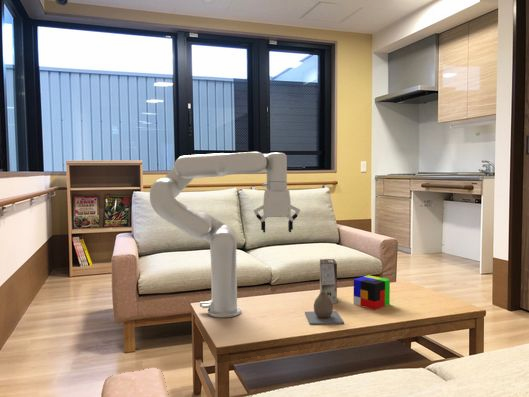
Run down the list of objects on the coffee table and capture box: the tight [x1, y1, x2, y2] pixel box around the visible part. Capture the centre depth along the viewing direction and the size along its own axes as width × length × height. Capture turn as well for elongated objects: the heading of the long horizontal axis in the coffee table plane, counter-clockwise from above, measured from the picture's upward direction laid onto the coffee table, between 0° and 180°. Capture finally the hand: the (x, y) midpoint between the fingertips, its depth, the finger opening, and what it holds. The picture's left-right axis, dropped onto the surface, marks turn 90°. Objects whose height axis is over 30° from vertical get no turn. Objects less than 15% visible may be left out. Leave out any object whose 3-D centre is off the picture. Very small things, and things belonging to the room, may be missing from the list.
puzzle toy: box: [353, 275, 391, 311], centre depth 167 cm, size 10×10×10 cm
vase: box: [313, 291, 334, 319], centre depth 151 cm, size 7×7×9 cm
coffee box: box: [319, 258, 338, 304], centre depth 173 cm, size 9×6×16 cm
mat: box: [304, 310, 345, 326], centre depth 151 cm, size 12×12×1 cm
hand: (276, 231), depth 158 cm, fingers open, 9 cm apart
